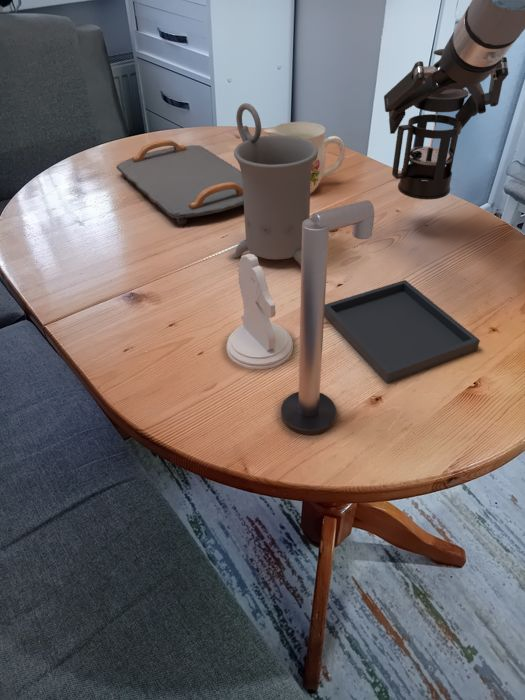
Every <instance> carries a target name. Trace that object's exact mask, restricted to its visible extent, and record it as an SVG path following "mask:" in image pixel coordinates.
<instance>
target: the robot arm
mask: <svg viewBox="0 0 525 700" xmlns="http://www.w3.org/2000/svg"><path fill="white" fill-rule="evenodd" d="M524 31H525V0H471V1H470V3H469V5H468V6H467V8H466V10H465V11H464V13H463V14H462V16H461V18H460V20H459V22H458V23H457V24H456V27H455V29H454V31H453V32H452V34H451V35H450V38H449V39H448V40H447V43H446V45H445V46H444V48H443V49H444V50H443V53H442V56H440V59H439V60H438V61H436V62H435V63H434V64H433V65H432V66H424V61H422V60H421V61H416V62H415V63H414V65H413V67H412V68H411V71H409V72H408V73H407V74H406V75H405V76H404V77H402V78H401V80H399V82H397V83H396V84H395V85H394V86H393V87H392V88H391V89H390V90H389V91H387V92H386V94H384V96H383V101H384V102H383V103H384V104H383V105H384V111H385V112H386V113H388V118H389V119H388V123H389V134H393V135H394V134H396V131H398V127H399V126H401V123H402V121H403V120H404V118H405V116H406V111H407V110H409V109H410V108H412V107H413V106H414V105H415V104H417V103H419V102H420V101H422V100H424V99H425V98H427V97H429V96H431V95H434V96H436V95H438V94H440V93H441V92H443V91H445V90H450V89H465V88H466V90H467V91H468V93H469V94H468V95H469V96H468V97H467V99H466V101H464V104H463V107H462V108H461V109H460V110H458V111H457V112H456V114H455V115H454V118H456V119H458V120H460V121H461V122H462V128H461V130H462V129H463V128H464V127H465V126H466V125H467V123H469V121H470V120H471V118H472V117H475V116H477V114H479V115H482V114H485V113H486V112H487V108H486V107H487V106H488V105H489V106H490V107H496V106H498V105H499V102H500V96H501V91H502V86H503V82H504V81H505V79H506V78H507V77H508V76H509V65H508V58H507V57H506V54H507V52H508V51H509V50H510V49H511V47H512V46H513V45H514V44H515V42H516V41H517V40H518V39H519V37H520V36H521V35H522V33H524ZM489 76H490V80H489V86H488V87H489V88H488V92H485V91H484V89H483V86H482V84H481V83H482V82H483V81H485V80H486V79H488V78H489ZM437 85H438V86H437Z"/></svg>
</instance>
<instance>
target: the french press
mask: <svg viewBox="0 0 525 700" xmlns="http://www.w3.org/2000/svg"><path fill="white" fill-rule="evenodd" d="M443 50H444V48H440V49H436V50H434V51H433V54H434V55H436V56H440V57H441V56H442V53H443ZM437 86H438V84H437ZM469 95H470V94H469V91H468V89H465V88H463V89H450V90H445V91H443V92H441V93H440V94H438V95H436V96H434V95H431V96H429V97H427V98H425V99H424V100H422V101H420V102H419V103H417V104H415V105H413V106H414V107H415V108H416V109H418V110H421V111H425V112H431V113H430V114H429V113H427V114H426V113H425V114H419V115H415V116H412V117H410V118H409V119H408V122H407V124H402V125H401V124H400V125H399V127H398V128H397V133H396V141H395V148H394V156H393V164H392V171H391V175H392V177H394V179H396V180H399V182H398V185H397V189H398V191H399V192H400V193H401V194H403V195H404V196H406V197H409V198H413V199H416V200H438V199H442V198H445V197H447V196H448V195H449V194H450V192H451V187H450V186H451V181H452V176H453V172H452V168H453V164H454V159H455V153H456V148H457V144H458V138H459V135H460V134H461V132H462V129H463V128H462V122H461V121H460V120H458V119H456V118H455V116H450V115H444V114H439V113H452V112H458V111H459V110H460V109H461V108H462V107H463V105H464V103H465V99H466V98H468V97H469ZM432 113H433V114H432ZM434 113H435V114H434ZM428 123H433V126H432V129H427V126H428ZM437 123H438V124H444V125H448V126H452V127H453V128H450V129H442V130H441V129H436V127H437ZM416 125H417V126H416ZM461 128H462V129H461ZM405 131H407V135H406V143H405V149H404V156H403V163H402V168H401V171H400V172H399V169H400V162H401V161H400V160H401V153H402V147H403V138H404V134H405V133H404V132H405ZM414 136H415V139H414ZM425 138H426V139H430V143H429V146H424V145H425ZM413 139H414V146H413V147H412V145H413ZM434 139H435V140H436V139H440V140H439V146H438V147H436V146H433V143H434Z"/></svg>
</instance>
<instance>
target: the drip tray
mask: <svg viewBox="0 0 525 700" xmlns="http://www.w3.org/2000/svg"><path fill="white" fill-rule="evenodd" d="M324 319H326V320H327V321H328V323H330V325H331V326H332V327H333V328H334V329H335V330H336V331H337V332H338V333H339V334H340V336H342V338H343V339H344V340H345V341H346V342H347V343H348V344H349V345H350V346H351V347H352V348H353V349H354V350H355V351H356V353H358V355H359V356H360V357H361V358H362V359H363V360H364V361H365V362H366V364H367V365H368V366H369V367H370V368H372V370H373V371H374V372H375V373H376V374H377V375H378V376H379V377H380V378H381V379H382V380H383V382H384V383H385V384H387V385H388V384H391V383H393V382H396V381H398V380H401V379H404V378H406V377H409V376H411V375H414V374H418V373H420V372H423V371H425V370H428V369H431V368H434V367H437V366H439V365H441V364H444V363H447V362H449V361H452V360H455V359H457V358H460V357H463V356H466V355H468V354H471V353H474V352H476V351H478V348H479V345H480V342H481V340H480V339H479V338H478V337H477V336H475V334H473V333H472V332H470V331H469V330H468V329H467V328H465V327H464V325H462V324H460V323H459V322H458V321H457V320H456V319H454V318H453V317H452V316H451V315H449V314H448V313H447V312H446V311H445V310H443V309H442V308H441V307H440V306H438V305H437V304H436V303H434V302H433V301H432V300H431V299H429V297H427V296H426V295H425V294H424V293H422V292H421V291H420V290H418V289H417V288H416V287H415V286H413V285H412V284H411V283H410V282H409V281H407V280H406V279H404V280H400V281H397V282H393V283H390V284H387V285H384V286H380V287H377V288H374V289H370V290H367V291H365V292H361V293H358V294H355V295H352V296H351V295H350V296H348V297H345V298H341V299H337V300H334V301H331V302H329V303H325V309H324Z"/></svg>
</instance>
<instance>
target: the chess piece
mask: <svg viewBox="0 0 525 700" xmlns="http://www.w3.org/2000/svg"><path fill="white" fill-rule="evenodd" d="M259 263H260V262H259V258H258V256H256V255H254V254H253V253H246V254H244V255H243V254H242V255H241V256H240V259H239V261H238V269H237V272H238V274H237V276H238V284H239V289H240V294H241V298H242V304H243V315H242V316H241V320H242V325H240V326H238V327H237V328H235V330H233V331H232V333H231V334H230V335H229V337H228V338H227V342H226V353H227V355H228V358H229V359H230V360H231V361H232V362H233V363H234V364H236V365H237V366H240V367H241V368H245V369H249V370H256V371H257V370H259V371H260V370H268V369H272V368H276V367H278V366H280V365H282V364H284V363H285V362H287V360H288V359H289V358H290V357H291V355H292V354H293V351H294V342H293V339H292V335H290V333H289V332H288V331H287V330H286V329H285V328H284V327H282V326H281V325H279V324H277V323H275V322H273V321H272V322H271V320H270V319H272V318H274V317H275V316H276V304H275V302H274V300H273V298H272V296H271V294H270V291H269V286H268V283H267V278H266V275H265V272H264V270H263V268H262V266H261V265H260V264H259Z"/></svg>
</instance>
